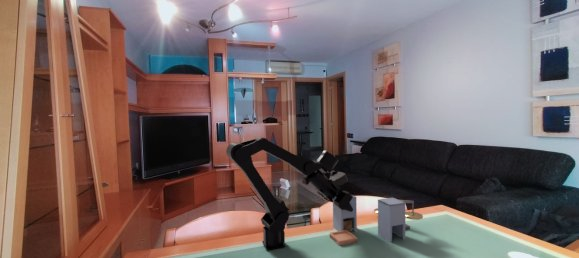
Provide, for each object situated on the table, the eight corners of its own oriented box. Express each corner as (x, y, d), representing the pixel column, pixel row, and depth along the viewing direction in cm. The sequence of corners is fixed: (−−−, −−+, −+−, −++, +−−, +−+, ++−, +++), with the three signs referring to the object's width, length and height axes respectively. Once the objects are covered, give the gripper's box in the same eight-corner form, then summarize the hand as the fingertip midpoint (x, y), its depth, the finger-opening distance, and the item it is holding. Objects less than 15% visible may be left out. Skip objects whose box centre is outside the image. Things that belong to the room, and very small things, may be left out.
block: (342, 232, 103) (342, 221, 103) (337, 228, 107) (337, 218, 107) (352, 230, 104) (351, 220, 104) (346, 226, 108) (346, 216, 108)
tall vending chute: (341, 233, 101) (341, 199, 101) (333, 227, 108) (332, 194, 107) (356, 230, 104) (356, 197, 103) (347, 224, 110) (347, 192, 109)
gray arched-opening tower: (389, 242, 94) (389, 205, 93) (378, 234, 100) (377, 199, 99) (405, 239, 96) (405, 202, 95) (392, 231, 102) (392, 197, 101)
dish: (339, 245, 92) (339, 241, 92) (329, 236, 99) (329, 232, 99) (357, 242, 95) (357, 237, 95) (346, 233, 101) (346, 229, 101)
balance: (412, 240, 95) (412, 204, 94) (370, 216, 117) (370, 187, 117) (426, 237, 97) (427, 202, 96) (383, 214, 120) (383, 186, 119)
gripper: (347, 170, 94) (375, 198, 98) (323, 162, 112) (347, 185, 116) (327, 196, 92) (356, 223, 96) (306, 183, 110) (331, 206, 114)
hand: (347, 207), depth 106 cm, fingers closed on tall vending chute, 6 cm apart
